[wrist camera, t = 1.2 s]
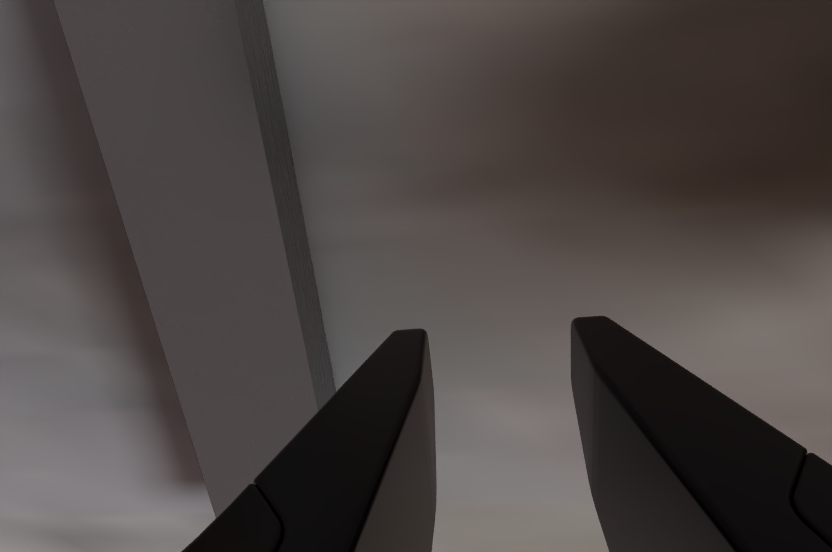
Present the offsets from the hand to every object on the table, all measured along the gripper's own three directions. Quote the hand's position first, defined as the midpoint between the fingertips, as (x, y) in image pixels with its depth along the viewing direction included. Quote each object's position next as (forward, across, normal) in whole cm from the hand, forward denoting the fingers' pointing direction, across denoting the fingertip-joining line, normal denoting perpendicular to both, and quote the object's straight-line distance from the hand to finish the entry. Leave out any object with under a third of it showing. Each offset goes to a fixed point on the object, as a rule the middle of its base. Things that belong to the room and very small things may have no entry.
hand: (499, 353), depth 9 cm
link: (+12, +7, +1) cm, 14 cm away
